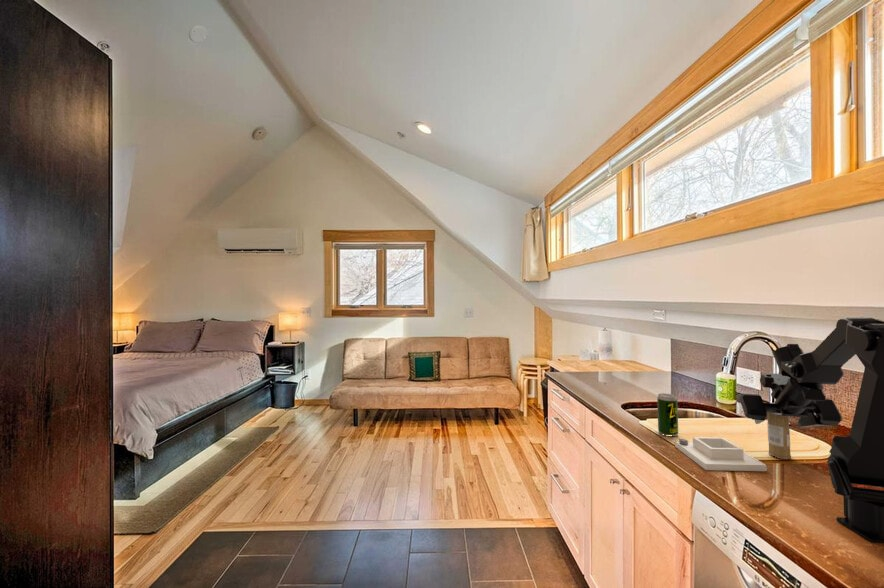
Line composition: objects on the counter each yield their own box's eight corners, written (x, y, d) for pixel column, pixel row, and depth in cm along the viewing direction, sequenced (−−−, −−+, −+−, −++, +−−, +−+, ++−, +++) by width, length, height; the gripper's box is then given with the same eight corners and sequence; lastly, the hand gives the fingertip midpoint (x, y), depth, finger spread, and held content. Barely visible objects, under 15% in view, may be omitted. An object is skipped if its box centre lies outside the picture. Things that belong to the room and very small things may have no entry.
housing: (766, 471, 90) (766, 454, 90) (705, 470, 91) (705, 453, 91) (727, 447, 104) (727, 433, 104) (675, 446, 105) (675, 432, 105)
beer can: (654, 432, 116) (653, 394, 116) (664, 429, 119) (663, 392, 119) (671, 438, 111) (670, 398, 111) (682, 435, 114) (681, 396, 114)
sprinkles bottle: (796, 459, 96) (794, 407, 96) (779, 460, 96) (777, 408, 96) (779, 451, 100) (777, 402, 100) (763, 452, 100) (761, 403, 100)
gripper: (833, 367, 91) (808, 399, 102) (741, 363, 98) (726, 394, 108) (856, 408, 84) (827, 439, 94) (755, 401, 90) (738, 431, 101)
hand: (776, 423), depth 99 cm, fingers open, 9 cm apart
